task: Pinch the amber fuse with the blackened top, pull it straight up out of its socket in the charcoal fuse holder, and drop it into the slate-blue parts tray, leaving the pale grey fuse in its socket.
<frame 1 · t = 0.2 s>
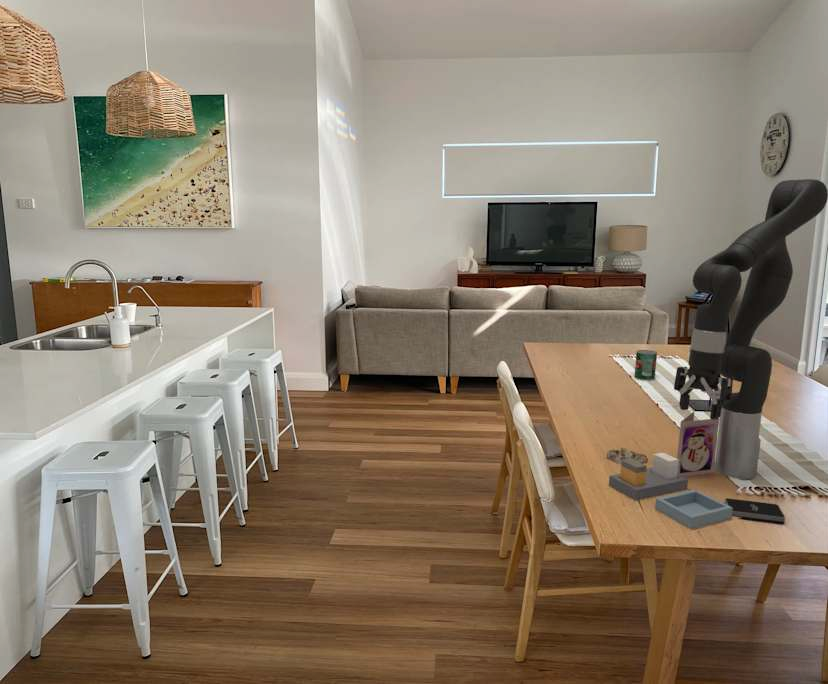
hand: (698, 414, 156), 18 cm above the table, tool pointing down, fingers open, 8 cm apart
greeting card: (686, 473, 165), on the table
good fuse: (663, 483, 157), resting on fuse holder
canned tomato: (644, 378, 260), on the table
fuse holder: (647, 489, 155), on the table
external hard drive: (752, 516, 143), on the table
blown fuse: (631, 490, 153), resting on fuse holder
parts tray: (692, 515, 141), on the table
mineral rock: (626, 463, 172), on the table
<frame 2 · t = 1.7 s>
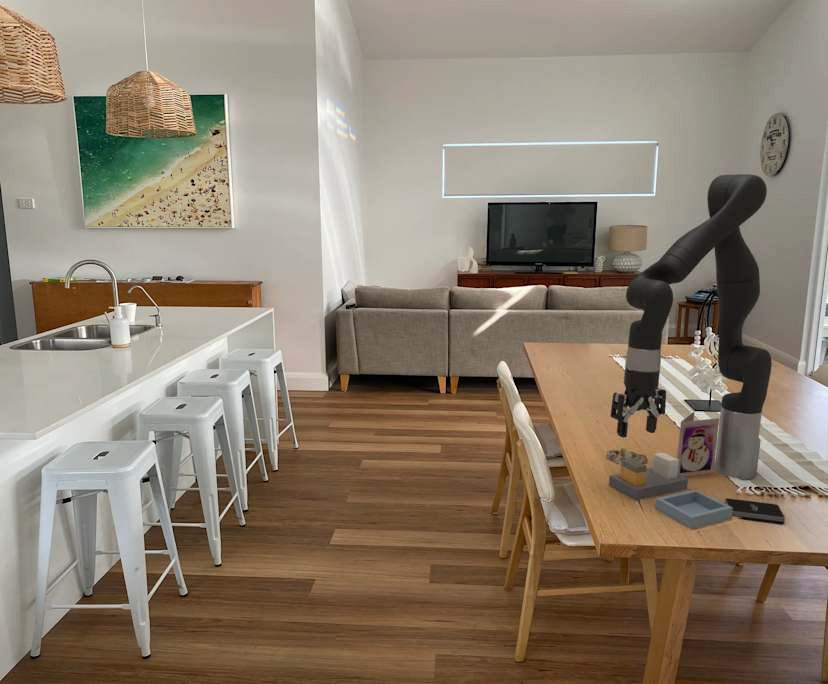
hand: (636, 434, 150), 15 cm above the table, tool pointing down, fingers open, 8 cm apart
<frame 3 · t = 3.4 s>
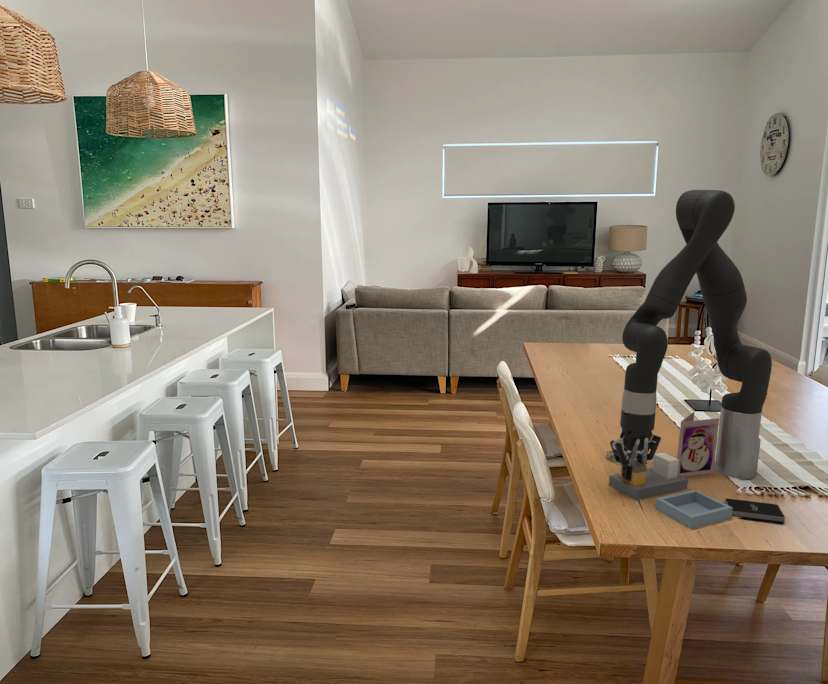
hand: (632, 478, 152), 4 cm above the table, tool pointing down, fingers closed on blown fuse, 3 cm apart
blown fuse: (631, 490, 153), point 1 cm above the table, touching fuse holder, gripper
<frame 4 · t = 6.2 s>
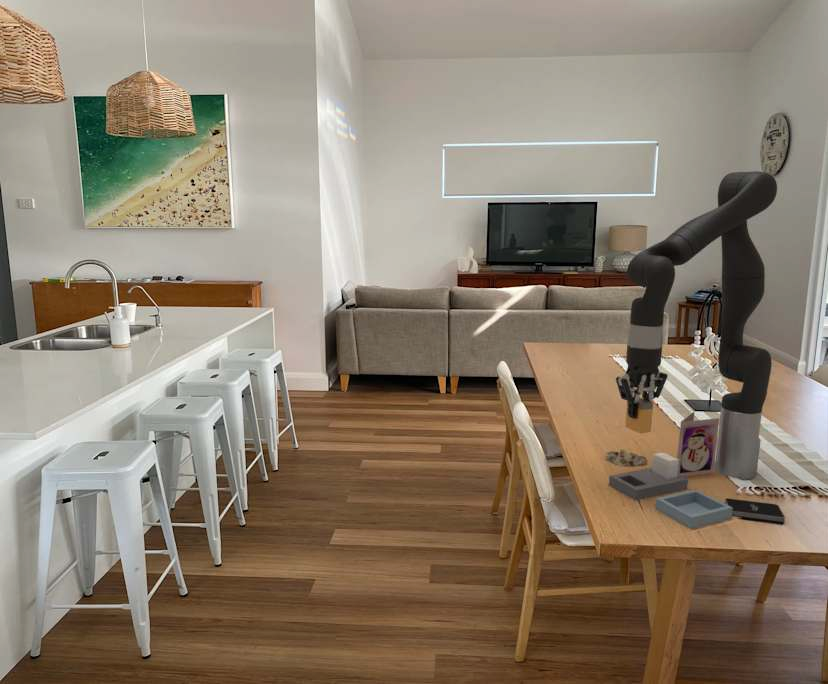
hand: (638, 416, 149), 19 cm above the table, tool pointing down, fingers closed on blown fuse, 3 cm apart
blown fuse: (637, 429, 150), point 16 cm above the table, touching gripper
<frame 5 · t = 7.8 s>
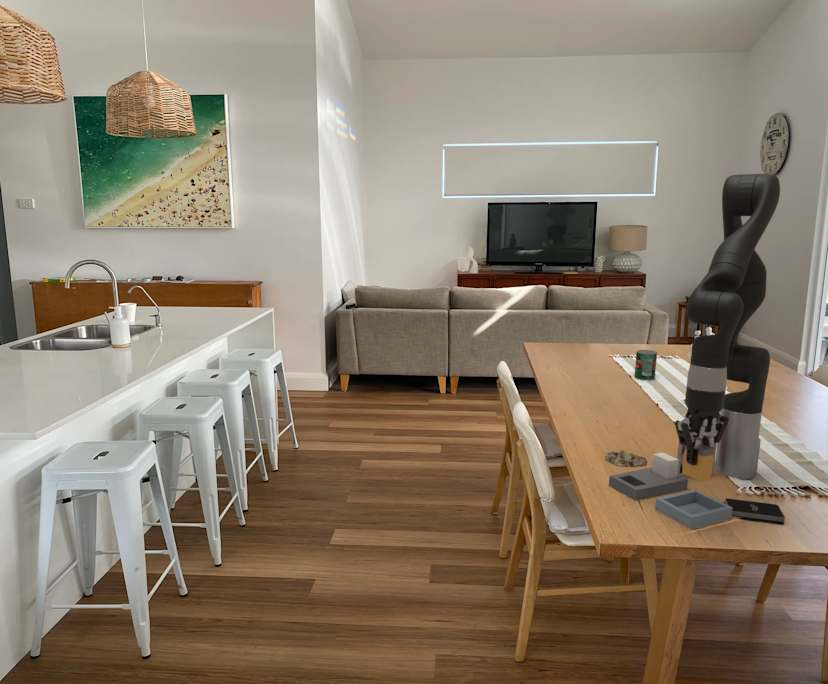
hand: (697, 462, 139), 12 cm above the table, tool pointing down, fingers closed on blown fuse, 3 cm apart
blown fuse: (696, 476, 139), point 9 cm above the table, touching gripper
when the fingers open (5 cm above the table, at t = 9.2 s): blown fuse drops 1 cm, resting on parts tray.
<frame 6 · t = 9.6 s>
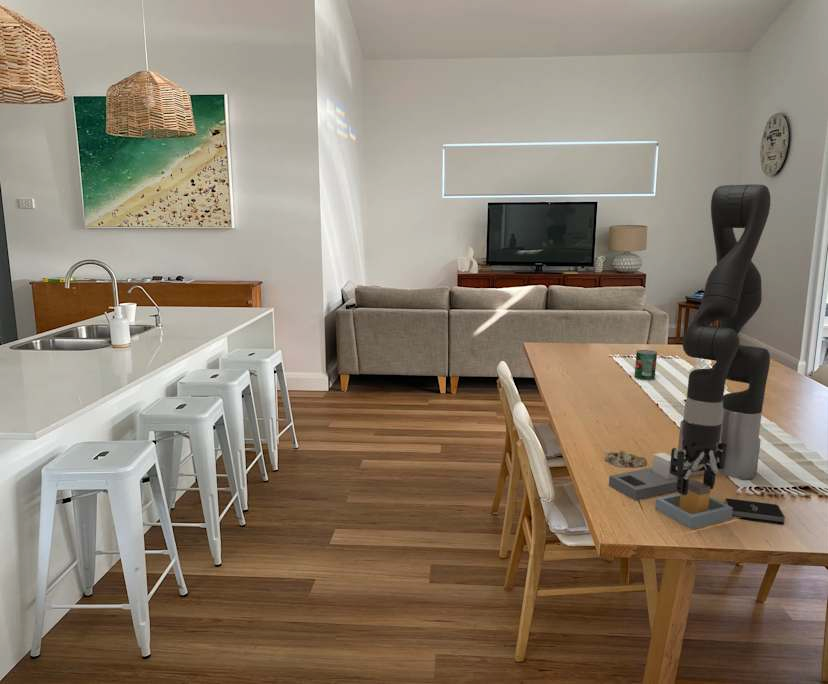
hand: (695, 490, 140), 6 cm above the table, tool pointing down, fingers open, 7 cm apart
blown fuse: (692, 513, 141), resting on parts tray
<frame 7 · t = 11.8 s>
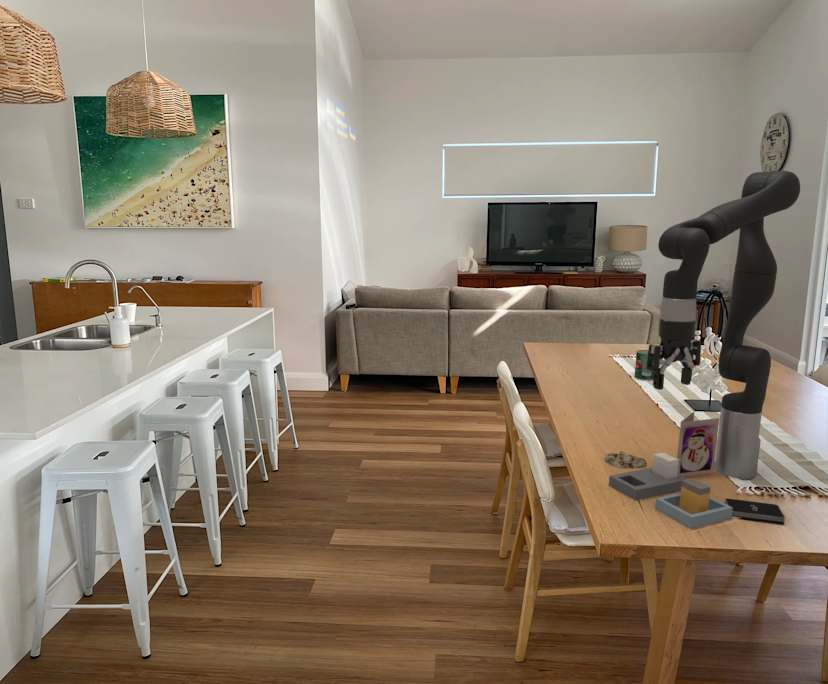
hand: (671, 386, 148), 26 cm above the table, tool pointing down, fingers open, 8 cm apart
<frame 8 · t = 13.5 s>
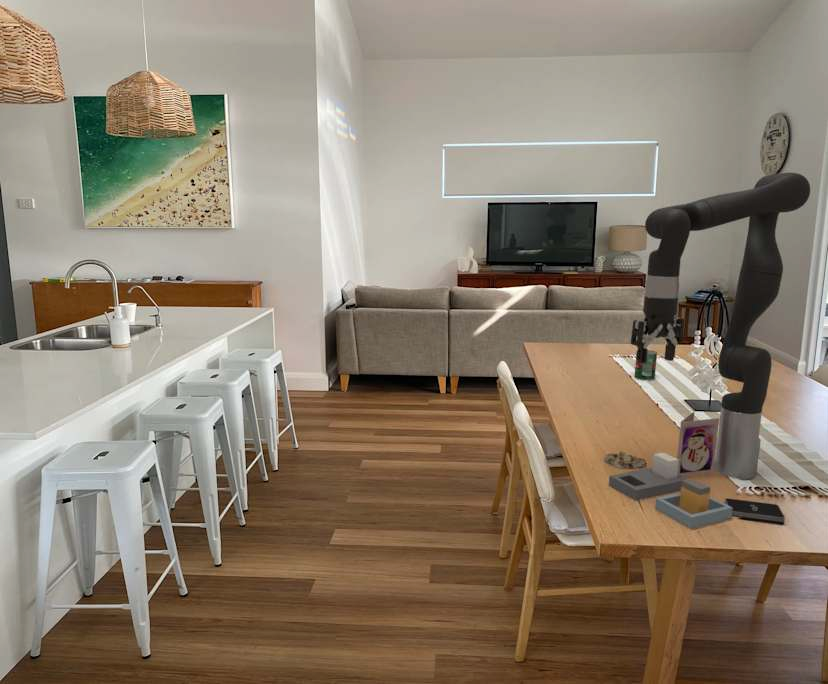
hand: (655, 361, 155), 30 cm above the table, tool pointing down, fingers open, 8 cm apart
at the end: blown fuse inside the target area on the parts tray (0.0 cm from its centre), point 0.5 cm above the parts tray's base; the gripper is holding nothing; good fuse moved 0.0 cm from its start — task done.
